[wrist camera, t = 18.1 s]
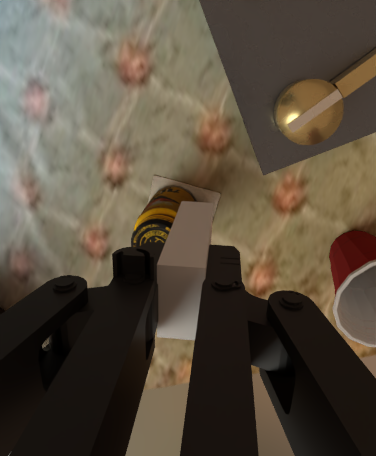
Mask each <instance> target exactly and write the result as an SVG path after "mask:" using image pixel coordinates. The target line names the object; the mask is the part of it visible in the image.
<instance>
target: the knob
mask: <svg viewBox="0 0 376 456" xmlns="http://www.w3.org/2000/svg"><path fill="white" fill-rule="evenodd" d="M375 76H376V49H374V50H373V51H371V52H370V53H369V54H367V55H366V56H365V57H363V58H362V59H361V60H359V61H358V62H356V63H355V64H354V65H352V66H351V67H350V68H348V69H347V70H346V71H344V72H343V73H342V74H340V75H339V76H337V77H336V78H335V79H333V80H332V81H331V82H327V81H324V80H320V79H306V80H299V81H296V82H294V83H292V84H290V85H288V86H287V87H286V88H285V89H284V90H283V91H282V92H281V93H280V95H279V96H278V98H277V100H276V103H275V106H274V120H275V123H276V125H277V127H278V129H279V130H280V131H281V132H282V133H283V134H284V135H285V136H286V137H287V138H288V139H290V140H291V141H293V142H294V143H297V144H301V145H314V144H318V143H320V142H322V141H324V140H326V139H328V138H329V137H330V136H331V135H332V134H333V133H334V132H335V131H336V130H337V128H338V126H339V125H340V123H341V120H342V117H343V110H344V106H343V100H342V98H345V97H346V96H348V95H349V94H351V93H352V92H353V91H355V90H356V89H358V88H359V87H360V86H362V85H363V84H365V83H366V82H368V81H369V80H370V79H372V78H373V77H375Z"/></svg>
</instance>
